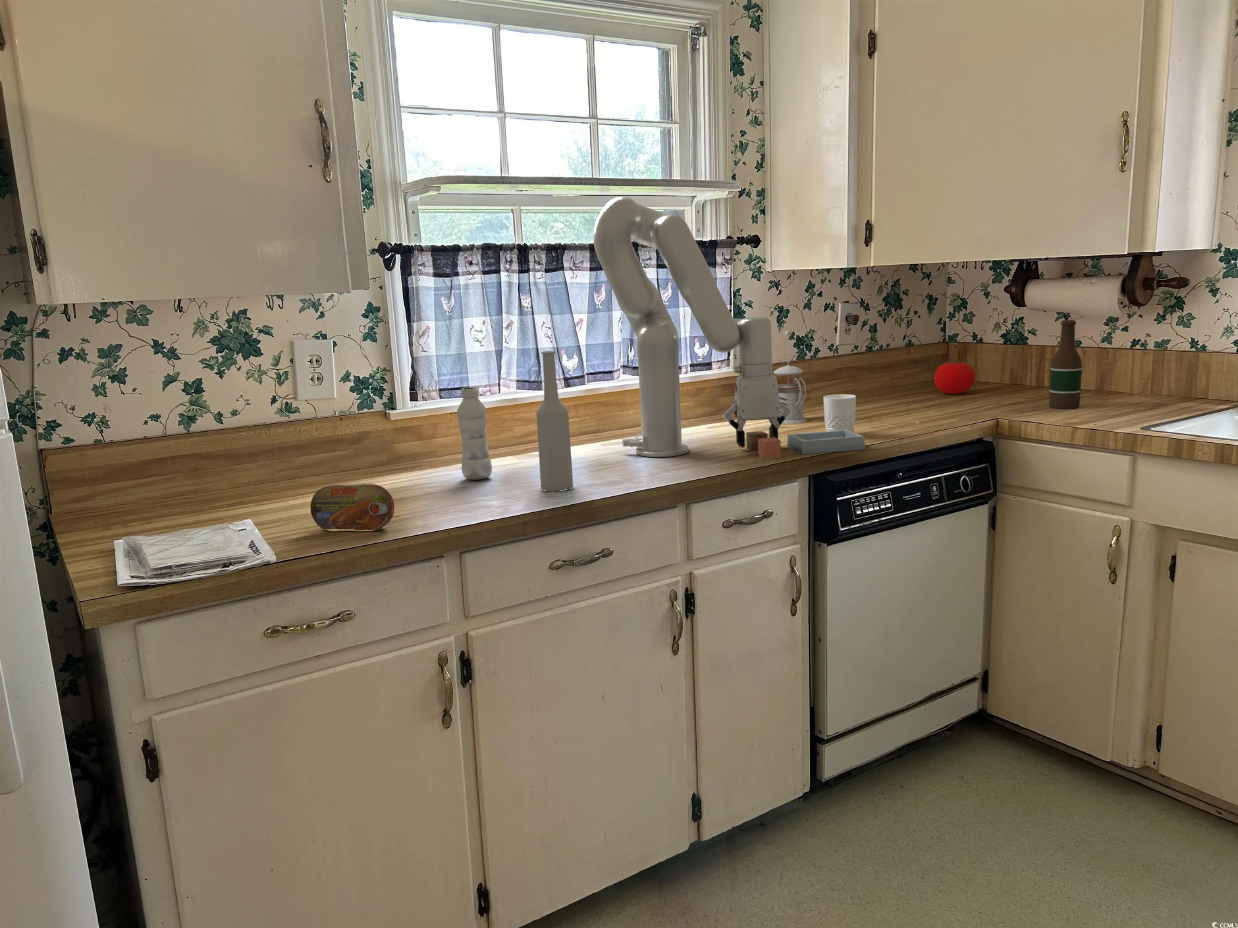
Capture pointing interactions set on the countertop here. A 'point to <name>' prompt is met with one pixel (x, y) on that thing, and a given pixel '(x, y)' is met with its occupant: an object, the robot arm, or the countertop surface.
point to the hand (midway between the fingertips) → (757, 444)
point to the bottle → (553, 433)
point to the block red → (769, 447)
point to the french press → (791, 393)
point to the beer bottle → (1066, 371)
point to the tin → (352, 507)
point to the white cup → (839, 412)
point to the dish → (825, 441)
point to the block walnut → (754, 439)
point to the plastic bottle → (473, 435)
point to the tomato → (954, 377)
